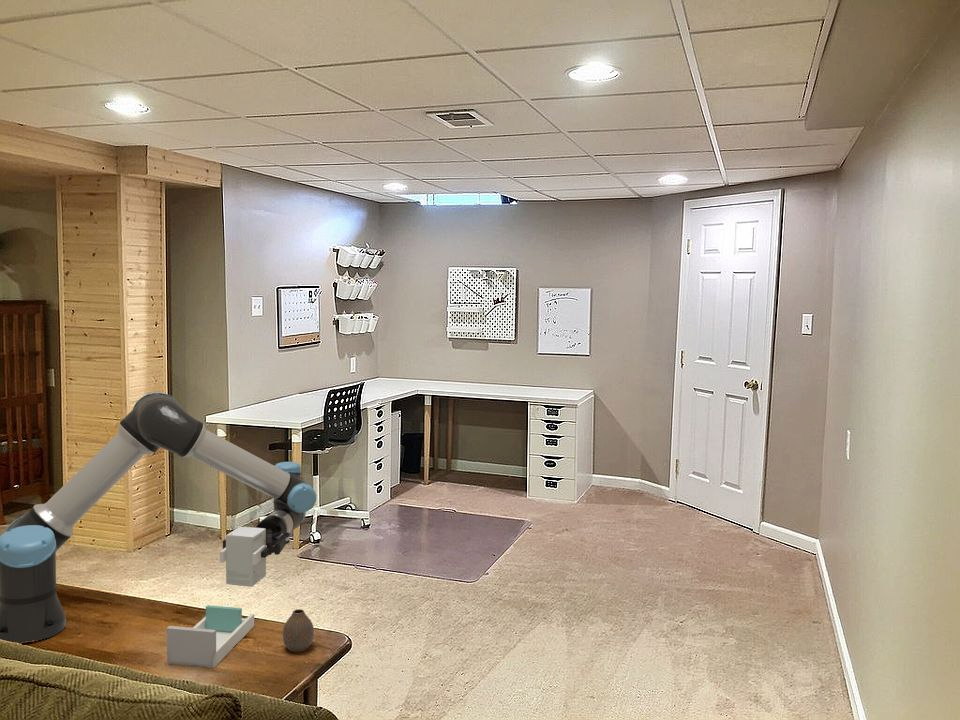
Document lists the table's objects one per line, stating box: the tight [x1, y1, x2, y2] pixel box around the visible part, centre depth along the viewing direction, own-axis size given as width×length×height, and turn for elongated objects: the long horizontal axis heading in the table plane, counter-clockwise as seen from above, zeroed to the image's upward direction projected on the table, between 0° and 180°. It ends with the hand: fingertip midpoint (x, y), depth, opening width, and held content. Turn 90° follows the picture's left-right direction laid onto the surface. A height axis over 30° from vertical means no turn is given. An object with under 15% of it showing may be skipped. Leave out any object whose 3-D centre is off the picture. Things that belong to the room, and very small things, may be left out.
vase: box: [282, 608, 315, 653], centre depth 179 cm, size 7×7×9 cm
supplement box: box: [225, 526, 267, 588], centre depth 196 cm, size 7×7×13 cm
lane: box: [166, 613, 255, 669], centre depth 180 cm, size 21×11×8 cm, turn 173°
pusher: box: [205, 604, 243, 632], centre depth 185 cm, size 1×8×6 cm, turn 83°
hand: (237, 558), depth 191 cm, fingers closed on supplement box, 7 cm apart
